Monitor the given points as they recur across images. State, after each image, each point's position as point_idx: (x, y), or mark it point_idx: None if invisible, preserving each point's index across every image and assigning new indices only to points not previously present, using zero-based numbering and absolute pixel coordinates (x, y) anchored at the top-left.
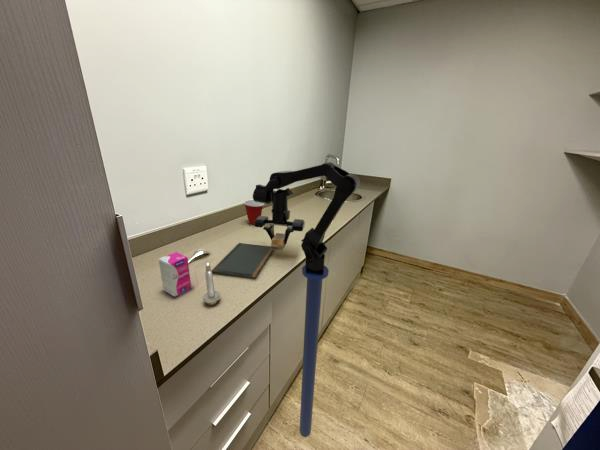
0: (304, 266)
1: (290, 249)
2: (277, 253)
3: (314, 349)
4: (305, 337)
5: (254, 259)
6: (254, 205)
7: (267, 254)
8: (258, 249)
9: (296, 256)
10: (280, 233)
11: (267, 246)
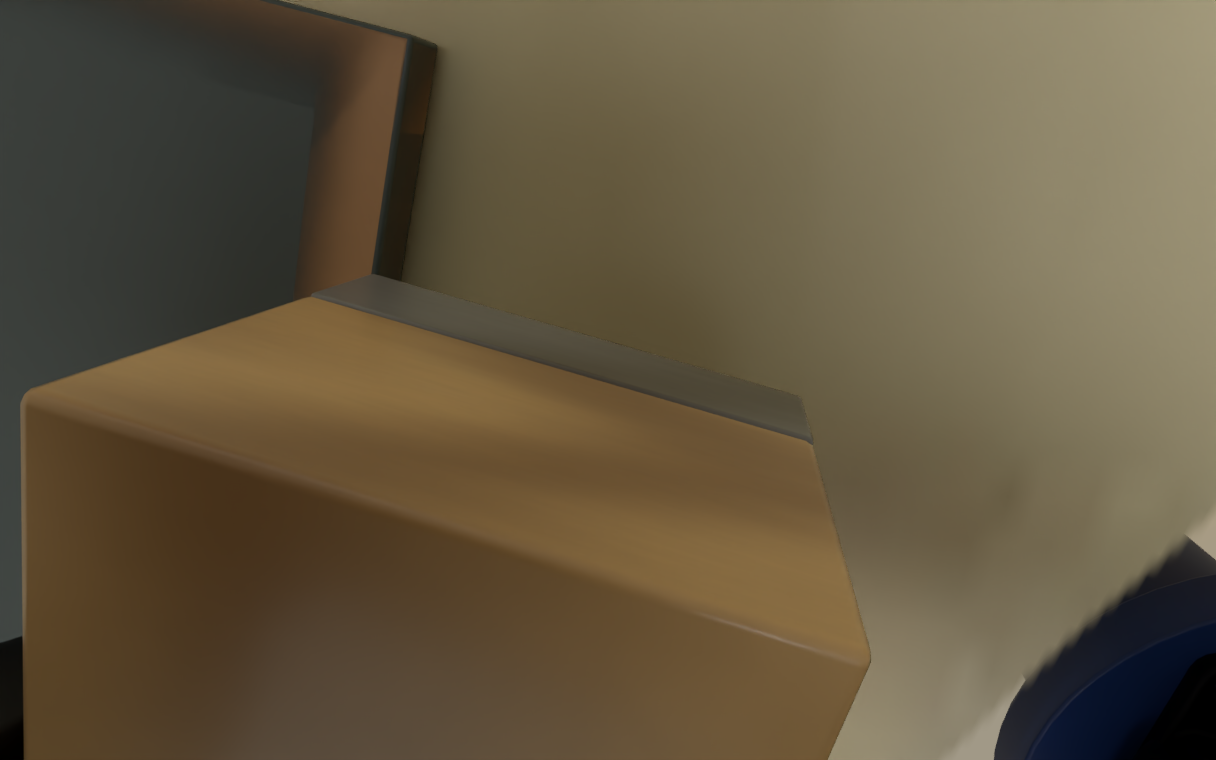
0: (1094, 706)
1: (909, 73)
2: (535, 318)
3: None
4: None
5: None
6: None
7: None
8: (44, 214)
9: (1007, 499)
10: (329, 530)
11: (215, 18)
